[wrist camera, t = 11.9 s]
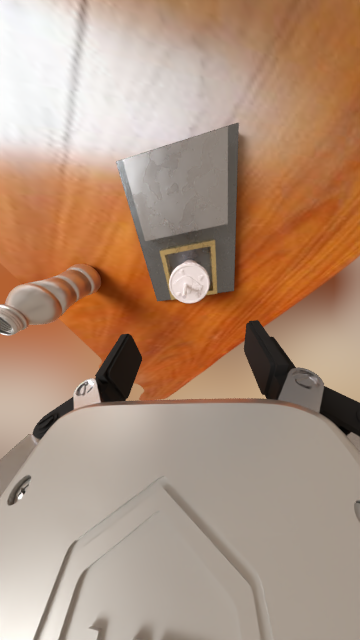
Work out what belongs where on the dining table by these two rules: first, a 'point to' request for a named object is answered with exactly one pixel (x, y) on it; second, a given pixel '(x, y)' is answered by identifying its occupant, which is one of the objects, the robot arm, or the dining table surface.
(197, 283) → the smoothie
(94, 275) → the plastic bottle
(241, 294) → the dining table surface
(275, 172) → the dining table surface
